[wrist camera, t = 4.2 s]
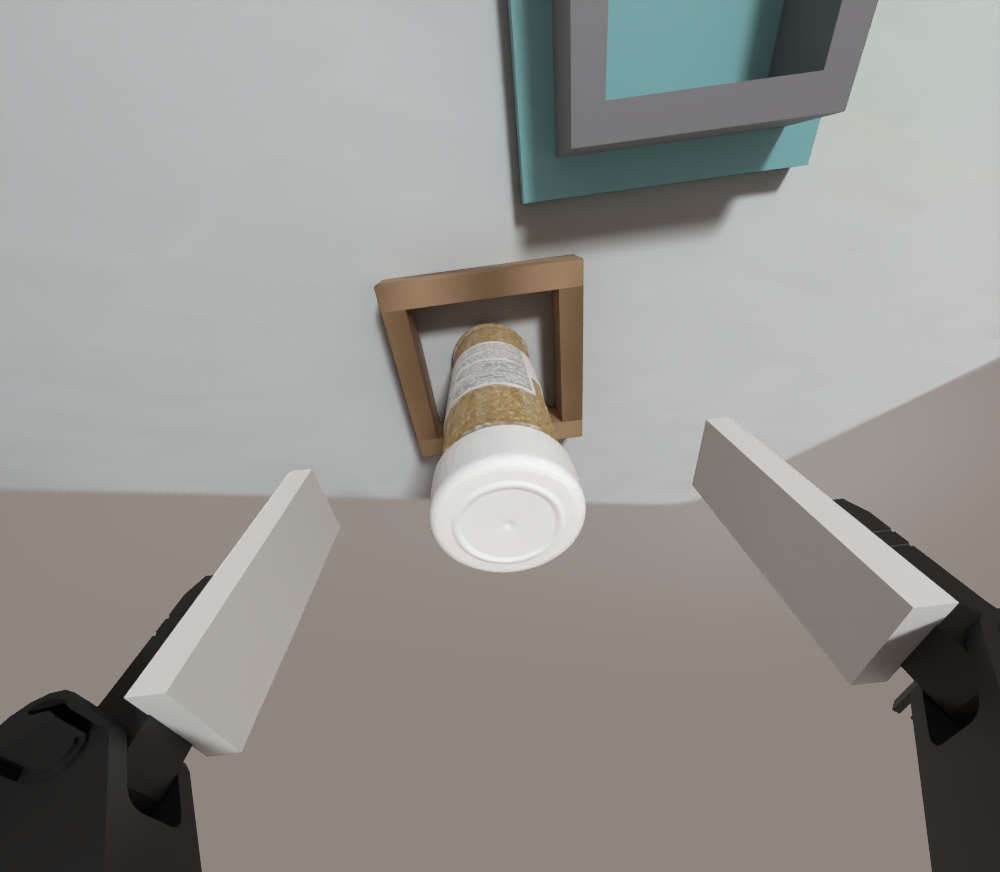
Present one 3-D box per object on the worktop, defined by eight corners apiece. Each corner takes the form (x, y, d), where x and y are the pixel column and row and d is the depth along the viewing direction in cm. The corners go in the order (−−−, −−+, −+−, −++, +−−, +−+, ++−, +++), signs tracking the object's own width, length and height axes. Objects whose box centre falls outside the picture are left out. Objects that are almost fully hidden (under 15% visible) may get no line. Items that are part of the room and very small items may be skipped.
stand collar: (425, 439, 24) (422, 457, 22) (382, 280, 19) (373, 287, 17) (574, 420, 24) (582, 436, 22) (573, 254, 19) (583, 258, 17)
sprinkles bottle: (519, 397, 23) (565, 583, 12) (447, 388, 22) (421, 575, 11) (535, 326, 21) (612, 471, 9) (455, 313, 20) (432, 452, 9)
